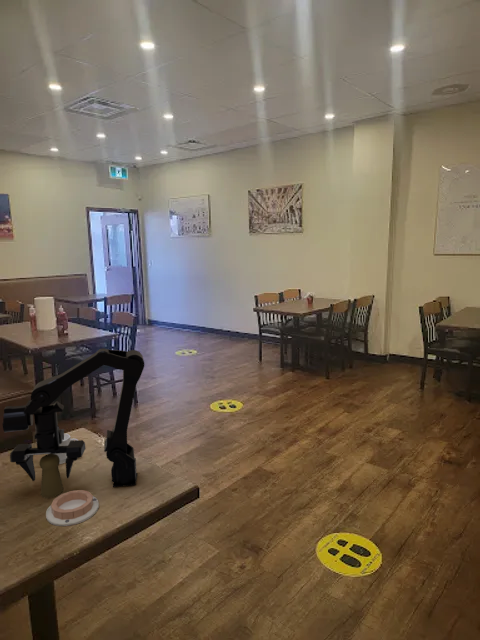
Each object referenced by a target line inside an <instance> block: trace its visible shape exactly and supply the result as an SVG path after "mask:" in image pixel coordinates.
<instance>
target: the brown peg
mask: <svg viewBox="0 0 480 640" xmlns="http://www.w3.org/2000/svg"><path fill="white" fill-rule="evenodd" d="M59 462H60V459H59V457H58V455H56V454H44V455H43V456H42V457H41V458H40V459H39V467H40V469H41V481H40V482H41V485H40V486H41V487H40V496H41V497H42V498H45V499H53V498H55V497H56V498H57V497H58V496H60V495H61V494H63V492H64V490H65V489H64V485H63V480H62V477H61V473H60V469H59V466H60V464H59Z"/></svg>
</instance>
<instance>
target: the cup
mask: <svg viewBox="0 0 480 640" xmlns="http://www.w3.org/2000/svg"><path fill="white" fill-rule="evenodd" d="M71 437H72V436H71V435H70V434H69V433H64V440H62V443H61V444H59V446H68V445H69V443H70V441H78V440H79V439H78V438H73V437H72V438H71ZM56 455H58V457H59V459H60V462H59V465H62V464H66V458H67V456H66V453H57V454H56Z"/></svg>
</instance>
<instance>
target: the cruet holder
mask: <svg viewBox="0 0 480 640" xmlns="http://www.w3.org/2000/svg"><path fill="white" fill-rule="evenodd" d="M99 507H100V503H99V500H98V498H97V497H96V496H94V495H93V494H92V493H91V492H90V491H88V490H83V489H79V490H77V489H76V490H70V491H67V492H64V493H61V494H60V495H58V496H56V498H55V497H54V499H53V500H52V503H51V504H50V505H49V507H48V508H47V509H46V512H45V517H46V520H47V522H48V523H49V524H51V525H53V526H58V527H69V526H74V525H79V524H80V523H84V522H85V521H87V520H89V519H91V518H92V517H94V515H95V514H96V513H97V512H98V511H99Z"/></svg>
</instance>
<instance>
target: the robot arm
mask: <svg viewBox="0 0 480 640" xmlns="http://www.w3.org/2000/svg"><path fill="white" fill-rule="evenodd" d="M103 366H107V367H111V368H113V369H116V370H120V371H122V385H121V390H120V395H119V399H118V404H117V411H116V416H115V419H114V420H115V421H114V426H113V427H112V429H111V430H110V429H106V438H105V440H104V445H103V446H104V449H103V452H104V453H106V454H105V455H106V458H107V460H109V462H111V463H112V466H111V468H110V472H111V482H112V488H119V487H131V486H137V480H138V473H137V459H136V457H135V449H134V447H133V446H132V445H131V444H130V443H128V427H129V422H130V417H131V412H132V407H133V402H134V397H135V392H136V387H137V384H138V382H139V381H140V378H141V376H142V374H143V372H144V369H145V360H144V357H143V354H142V353H141V351H139V350H137V349H130V350H128V351H126V350H122V349H121V350H119V349H109V348H100V349H98V350H97V351H95V352H94V353H92V354H91V355H90V356H88V357H86V358H85V359H83V360H82V361H80V362H79V363H77V364H75V365H74V366H72V367H71V368H68V369H67V370H66V371H64V372H62V373H61V374H58V375H54V376H51V377H48V378H46V379H44V380H41V381H39V382H38V383H36V385H35V386H34V388H33V390H32V391H31V393H30V394H31V395H30V399H29V400H28V401H27V402H26V404H25V405H7V406H5V407H4V409H3V412H4V413H3V417H2V423H1V424H2V429H3V433H11V432H20V431H21V432H22V431H28V430H29V428H30V426H33V424H34V428H35V434H34V439H35V440H36V447H33V445H32V443H20V444H16V446H15V447H14V448H13V450H12V451H10V454H9V461H10V462H11V463H15V465H16V466H17V465H19V466H20V467H21V468H22V469H23V470H24V471H25V473H26V474H27V475H28V476H29V477H30V479H31V481H32V482H35V481H36V469H35V464H34V456H38V455H39V456H40V455H48V454H57V453H66V456H67V458H66V462H65V475H66V479H69V478H70V476H71V472H72V469H73V468H72V467H73V464H74V462H75V461H77V460H78V459H80V458H82V457H83V455H84V454H85V450H86V448H87V447H86V442H85V441H84V440H83V439H81V440H79V439H78V441H75V440H74V441H70V443H69V445H68V446H59V444H61V443H62V440H64V434H65V428H60V426H59V425H58V423H59V421H58V413H61V412H63V411H64V407H65V405H63V404H62V403H60V402H59V401H58V400H57V399H58V398H59V397H60V396H61V395H62V394H63V393H64V392H65V391H66V390H67V389H68V388H69V387H71V386H73V385H74V384H76V383H78V382H80V380H82V379H84V378H86V377H87V376H88V375H91V374H92V373H94V372H95V371H97V370H98V369H100V368H102V367H103ZM54 401H55V402H54Z"/></svg>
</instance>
